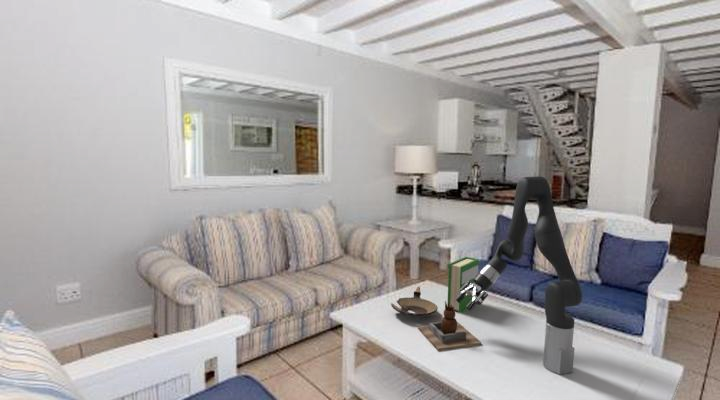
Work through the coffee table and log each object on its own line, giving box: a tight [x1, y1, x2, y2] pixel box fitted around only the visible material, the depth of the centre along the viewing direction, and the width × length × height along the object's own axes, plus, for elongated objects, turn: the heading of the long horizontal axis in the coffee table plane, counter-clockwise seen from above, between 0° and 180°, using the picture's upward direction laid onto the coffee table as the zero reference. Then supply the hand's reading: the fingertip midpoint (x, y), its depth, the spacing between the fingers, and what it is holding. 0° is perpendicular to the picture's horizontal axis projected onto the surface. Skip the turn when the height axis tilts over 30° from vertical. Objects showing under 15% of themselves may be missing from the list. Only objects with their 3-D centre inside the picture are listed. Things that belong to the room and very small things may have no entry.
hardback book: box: [447, 256, 480, 314], centre depth 199 cm, size 18×7×24 cm, turn 137°
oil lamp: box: [390, 286, 438, 318], centre depth 193 cm, size 22×30×8 cm
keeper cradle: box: [417, 321, 482, 352], centre depth 168 cm, size 20×20×4 cm
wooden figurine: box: [440, 300, 458, 334], centre depth 167 cm, size 7×6×15 cm
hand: (462, 305), depth 168 cm, fingers open, 8 cm apart
